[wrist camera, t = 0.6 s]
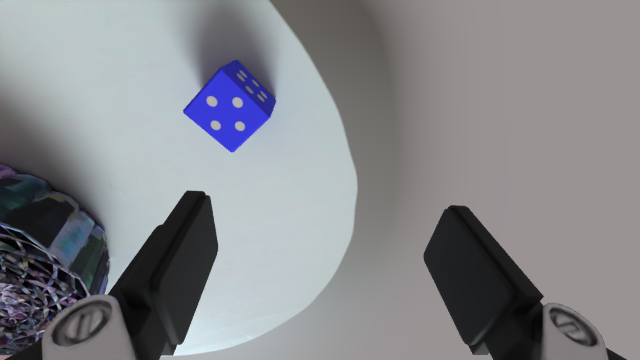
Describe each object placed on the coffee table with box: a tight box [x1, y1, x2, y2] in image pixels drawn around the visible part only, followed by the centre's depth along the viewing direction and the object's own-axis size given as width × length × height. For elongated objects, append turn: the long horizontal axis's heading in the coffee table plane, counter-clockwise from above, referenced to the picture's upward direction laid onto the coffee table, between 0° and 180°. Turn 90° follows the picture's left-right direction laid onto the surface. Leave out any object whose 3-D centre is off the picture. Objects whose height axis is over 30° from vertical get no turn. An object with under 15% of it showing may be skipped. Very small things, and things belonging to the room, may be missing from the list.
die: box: [183, 60, 276, 152], centre depth 22 cm, size 5×5×5 cm
